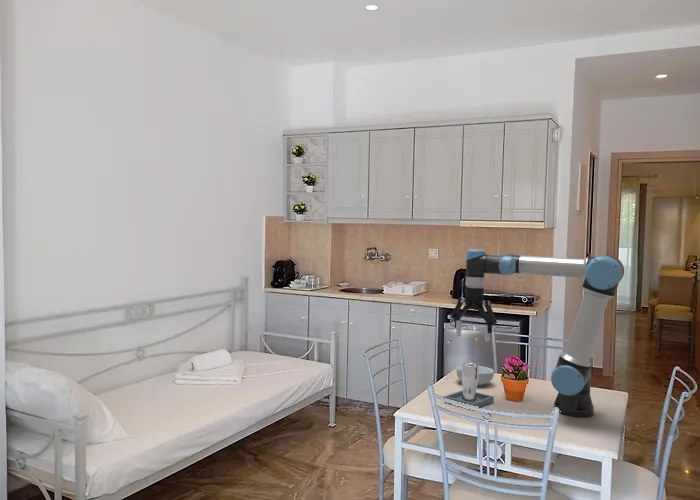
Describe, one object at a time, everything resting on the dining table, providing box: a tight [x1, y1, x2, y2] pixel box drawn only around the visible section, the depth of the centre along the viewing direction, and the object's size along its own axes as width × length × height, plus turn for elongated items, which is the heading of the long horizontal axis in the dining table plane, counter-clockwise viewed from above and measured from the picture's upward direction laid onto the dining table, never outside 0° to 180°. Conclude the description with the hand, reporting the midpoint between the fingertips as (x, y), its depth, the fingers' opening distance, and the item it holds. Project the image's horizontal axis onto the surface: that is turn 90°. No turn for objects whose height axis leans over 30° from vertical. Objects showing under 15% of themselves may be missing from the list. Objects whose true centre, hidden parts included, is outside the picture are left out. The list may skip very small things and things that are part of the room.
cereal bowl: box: [456, 365, 495, 387], centre depth 282 cm, size 17×17×7 cm
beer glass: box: [461, 362, 480, 403], centre depth 252 cm, size 7×7×15 cm
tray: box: [443, 389, 495, 408], centre depth 252 cm, size 14×16×2 cm
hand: (472, 338), depth 251 cm, fingers open, 13 cm apart
